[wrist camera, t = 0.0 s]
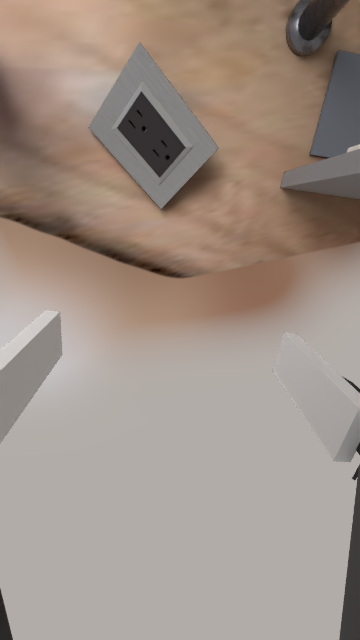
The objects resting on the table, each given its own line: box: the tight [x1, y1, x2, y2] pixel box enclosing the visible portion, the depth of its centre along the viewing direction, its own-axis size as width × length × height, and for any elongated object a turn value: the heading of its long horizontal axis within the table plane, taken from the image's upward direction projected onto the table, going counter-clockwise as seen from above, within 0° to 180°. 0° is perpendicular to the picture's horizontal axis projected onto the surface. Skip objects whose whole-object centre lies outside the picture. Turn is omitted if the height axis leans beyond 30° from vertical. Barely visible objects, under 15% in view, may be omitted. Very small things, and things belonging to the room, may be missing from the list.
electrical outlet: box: [88, 42, 218, 209], centre depth 34 cm, size 13×10×2 cm
